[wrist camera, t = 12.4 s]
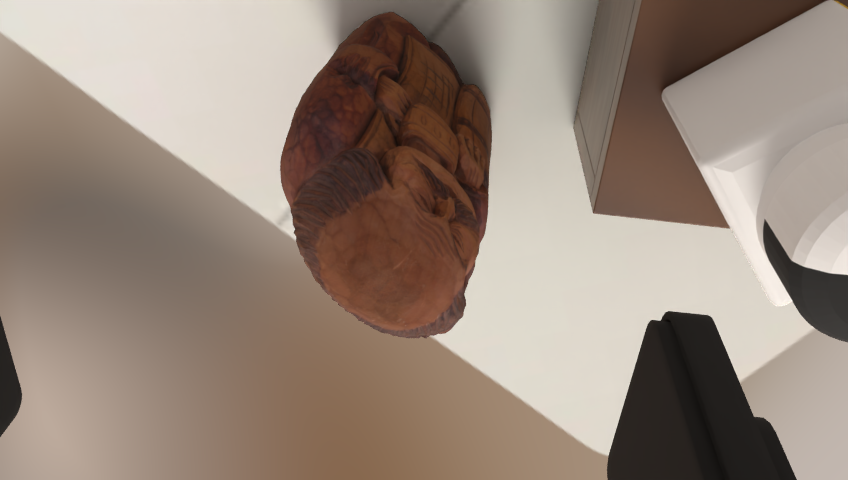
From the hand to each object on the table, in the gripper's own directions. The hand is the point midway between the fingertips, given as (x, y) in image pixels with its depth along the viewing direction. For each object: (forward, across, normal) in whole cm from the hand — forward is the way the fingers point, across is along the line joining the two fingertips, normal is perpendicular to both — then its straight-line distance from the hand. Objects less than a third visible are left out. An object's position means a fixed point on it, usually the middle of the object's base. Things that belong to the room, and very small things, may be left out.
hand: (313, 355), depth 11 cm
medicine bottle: (+22, -15, +4) cm, 27 cm away
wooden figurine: (+32, 0, +9) cm, 33 cm away
